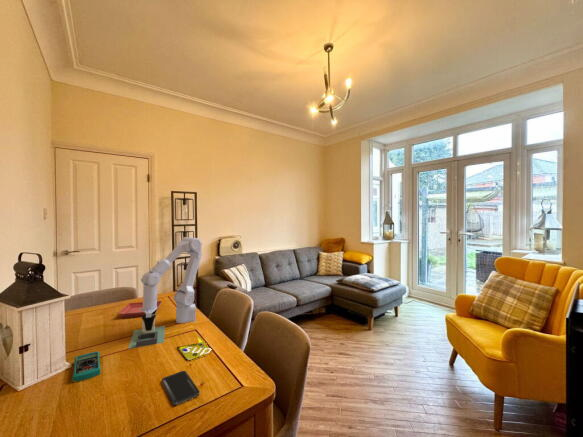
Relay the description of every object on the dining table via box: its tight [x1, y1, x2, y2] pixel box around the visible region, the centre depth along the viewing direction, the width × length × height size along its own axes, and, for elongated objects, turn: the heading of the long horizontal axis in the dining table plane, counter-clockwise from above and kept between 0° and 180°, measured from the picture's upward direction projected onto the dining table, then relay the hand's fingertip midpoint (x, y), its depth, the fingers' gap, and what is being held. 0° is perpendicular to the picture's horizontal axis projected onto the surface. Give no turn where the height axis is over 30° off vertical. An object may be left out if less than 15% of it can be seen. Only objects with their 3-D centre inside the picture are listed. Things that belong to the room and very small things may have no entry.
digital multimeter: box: [71, 351, 101, 383], centre depth 90 cm, size 7×15×3 cm, turn 39°
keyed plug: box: [141, 313, 156, 333], centre depth 117 cm, size 5×4×7 cm
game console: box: [176, 335, 213, 361], centre depth 105 cm, size 18×11×2 cm, turn 43°
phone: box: [161, 370, 200, 407], centre depth 81 cm, size 8×1×15 cm
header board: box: [128, 325, 166, 349], centre depth 113 cm, size 13×18×3 cm
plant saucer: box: [118, 300, 163, 319], centre depth 144 cm, size 18×18×3 cm
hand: (149, 327), depth 117 cm, fingers open, 6 cm apart
